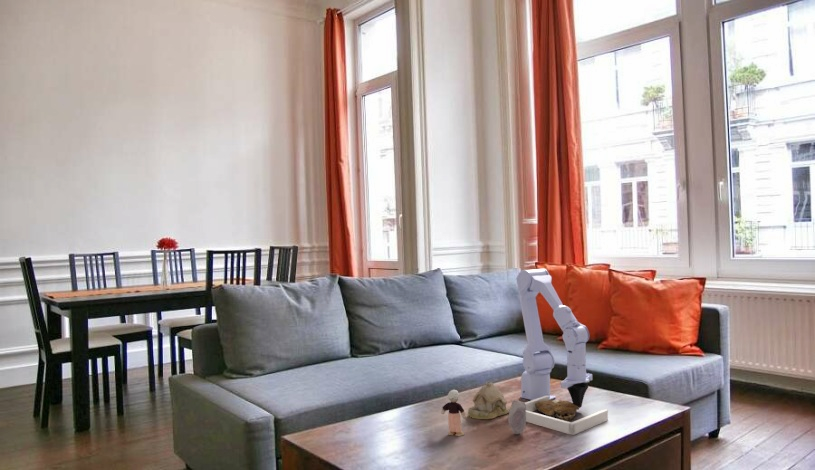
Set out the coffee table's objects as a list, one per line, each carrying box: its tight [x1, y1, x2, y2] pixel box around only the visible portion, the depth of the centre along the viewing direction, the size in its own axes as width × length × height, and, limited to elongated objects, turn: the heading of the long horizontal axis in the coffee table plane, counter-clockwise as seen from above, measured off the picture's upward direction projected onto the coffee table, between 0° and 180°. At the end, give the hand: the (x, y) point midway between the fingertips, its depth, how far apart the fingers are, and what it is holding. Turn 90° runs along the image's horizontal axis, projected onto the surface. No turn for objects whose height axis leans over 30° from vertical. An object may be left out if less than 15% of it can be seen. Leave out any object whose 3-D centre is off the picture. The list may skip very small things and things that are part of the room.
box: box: [509, 396, 609, 436], centre depth 183 cm, size 22×18×3 cm
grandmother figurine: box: [440, 389, 467, 437], centre depth 172 cm, size 8×4×13 cm, turn 71°
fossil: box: [507, 399, 527, 435], centre depth 170 cm, size 6×4×10 cm, turn 117°
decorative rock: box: [535, 399, 580, 422], centre depth 187 cm, size 11×4×15 cm
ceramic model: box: [467, 381, 510, 420], centre depth 190 cm, size 14×11×10 cm
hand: (577, 406), depth 189 cm, fingers closed
